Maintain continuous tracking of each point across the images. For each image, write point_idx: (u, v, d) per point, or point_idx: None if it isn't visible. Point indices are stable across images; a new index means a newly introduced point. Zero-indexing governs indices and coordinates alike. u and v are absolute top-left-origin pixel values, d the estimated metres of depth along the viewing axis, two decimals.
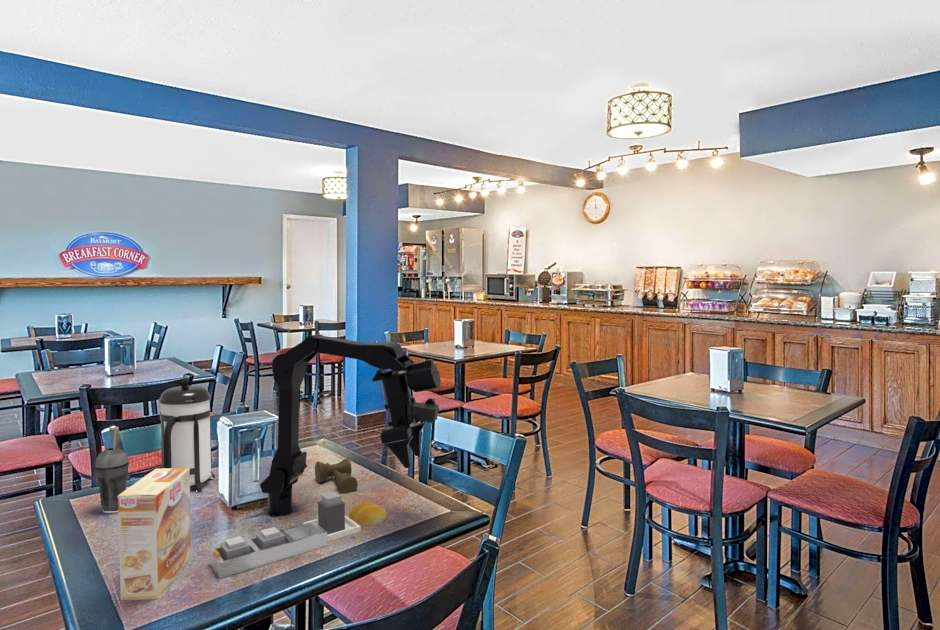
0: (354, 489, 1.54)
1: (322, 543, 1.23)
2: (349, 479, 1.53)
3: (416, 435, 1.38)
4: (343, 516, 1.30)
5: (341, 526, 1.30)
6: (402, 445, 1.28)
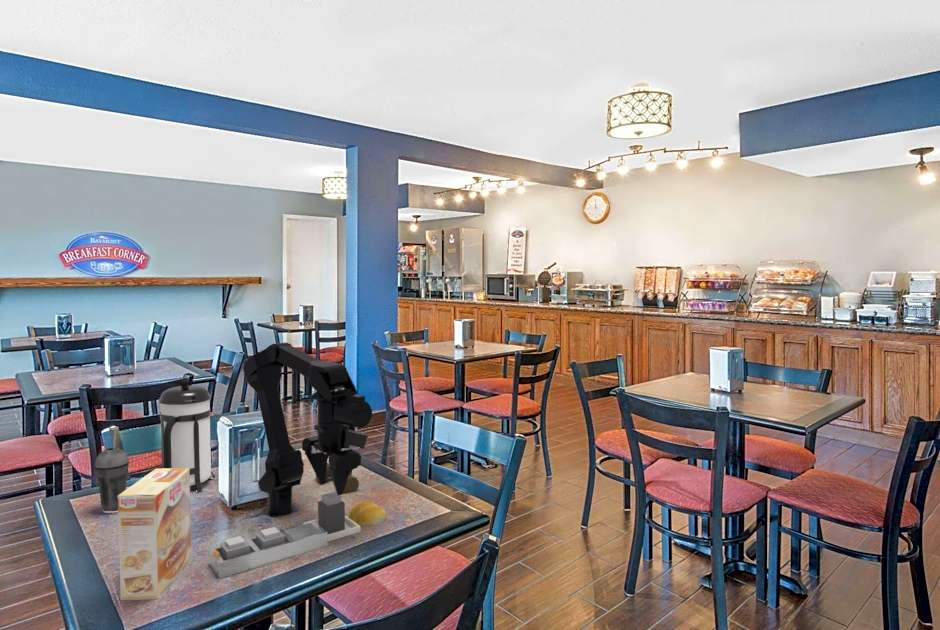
0: (355, 489, 1.54)
1: (322, 543, 1.23)
2: (350, 479, 1.53)
3: (324, 461, 1.34)
4: (343, 516, 1.30)
5: (341, 526, 1.30)
6: (343, 471, 1.26)
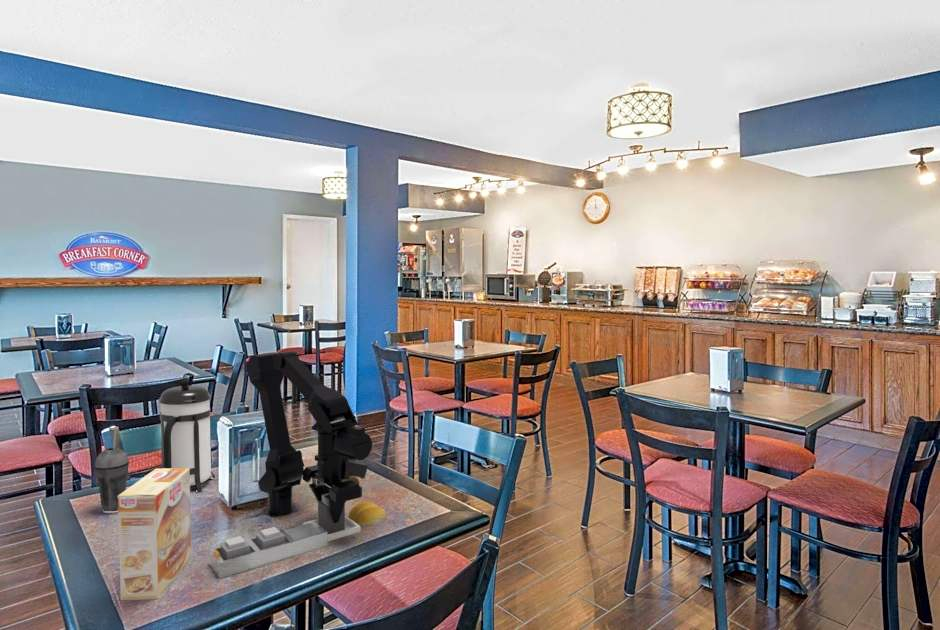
0: None
1: (322, 543, 1.23)
2: (351, 479, 1.53)
3: None
4: (343, 516, 1.30)
5: (341, 526, 1.30)
6: None
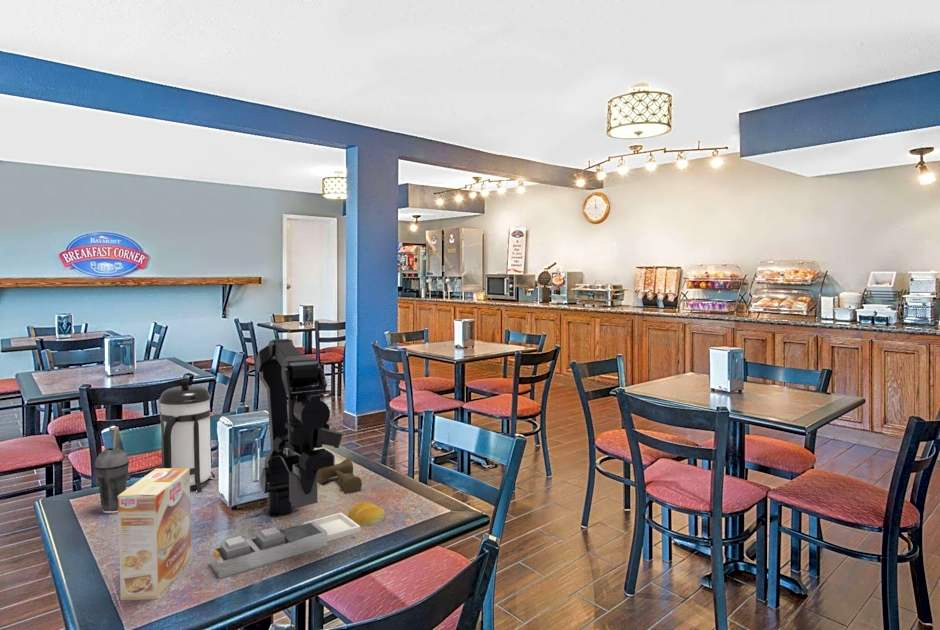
0: (358, 489, 1.55)
1: (322, 543, 1.23)
2: (354, 479, 1.54)
3: None
4: (315, 488, 1.22)
5: (313, 498, 1.22)
6: (311, 469, 1.20)
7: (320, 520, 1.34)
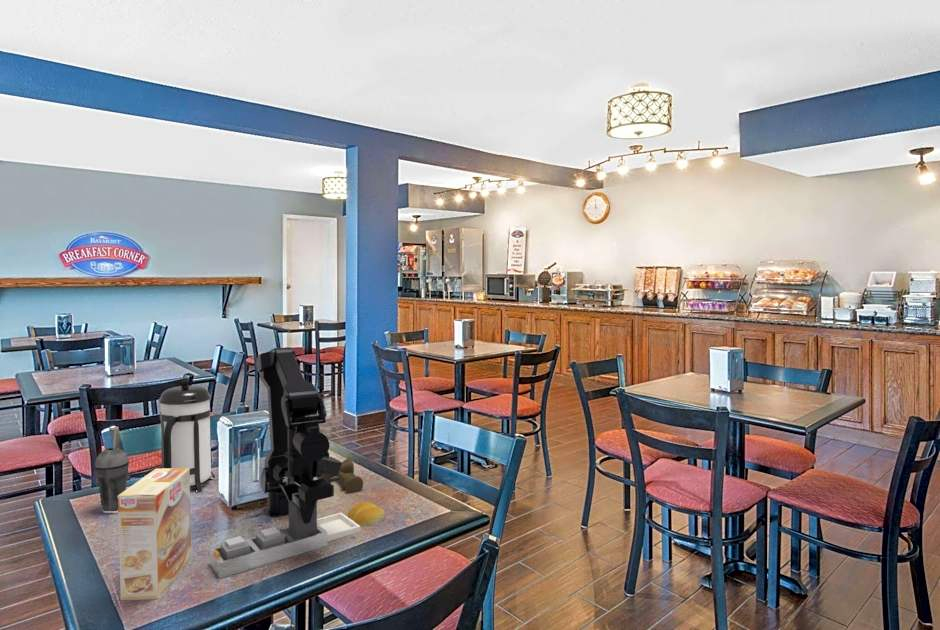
0: (360, 489, 1.55)
1: (322, 543, 1.23)
2: (355, 479, 1.54)
3: None
4: (315, 517, 1.23)
5: (313, 527, 1.23)
6: None
7: (320, 520, 1.34)
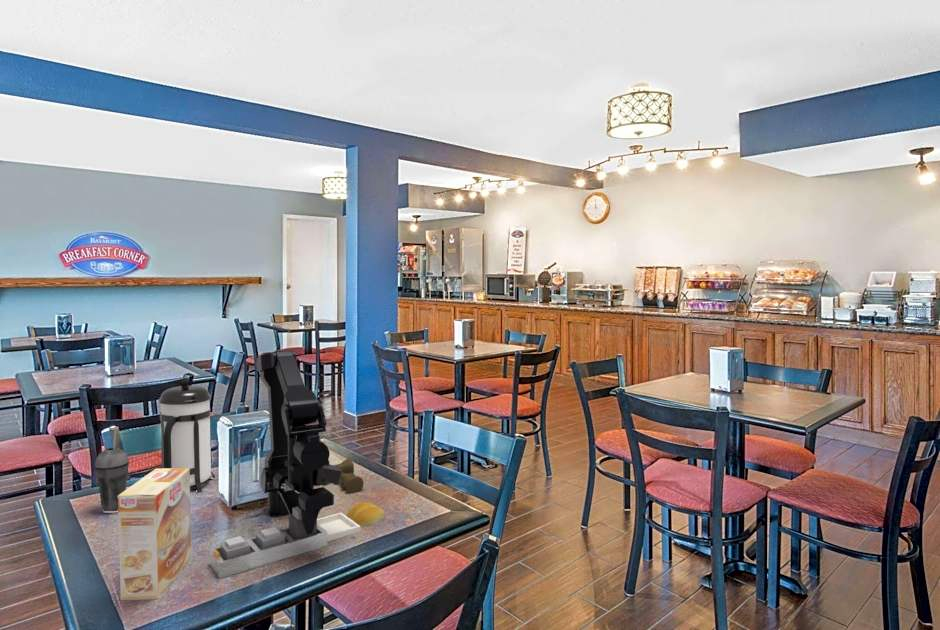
0: (360, 489, 1.55)
1: (322, 543, 1.23)
2: (355, 479, 1.54)
3: (298, 499, 1.26)
4: (315, 531, 1.23)
5: None
6: (313, 509, 1.20)
7: (320, 520, 1.34)
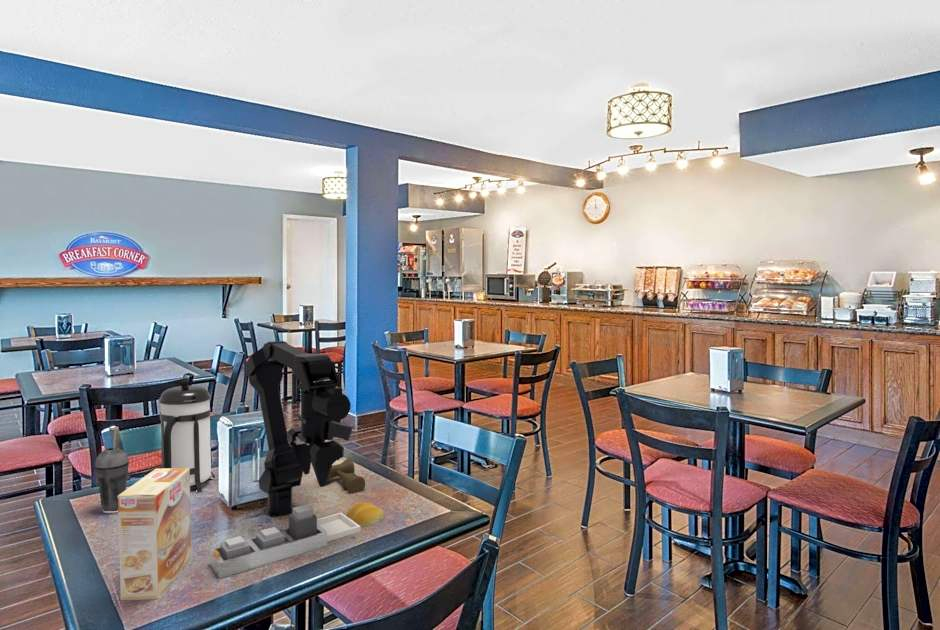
0: (362, 489, 1.55)
1: (322, 543, 1.23)
2: (357, 479, 1.54)
3: (308, 453, 1.33)
4: (315, 531, 1.23)
5: None
6: (326, 463, 1.24)
7: (320, 520, 1.34)
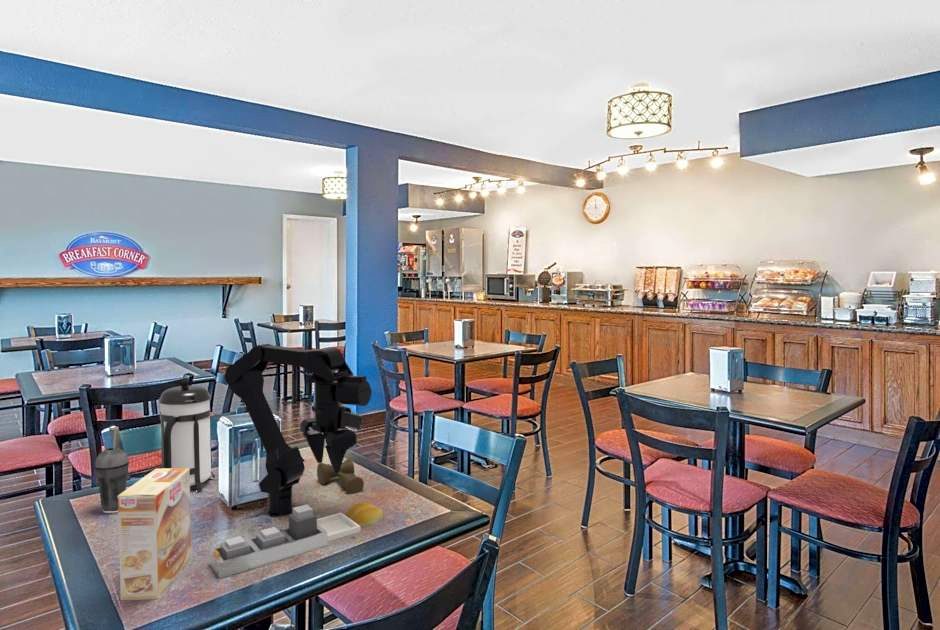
0: (360, 489, 1.54)
1: (322, 543, 1.23)
2: (356, 479, 1.53)
3: (321, 442, 1.40)
4: (315, 531, 1.23)
5: None
6: (340, 450, 1.31)
7: (320, 520, 1.34)
